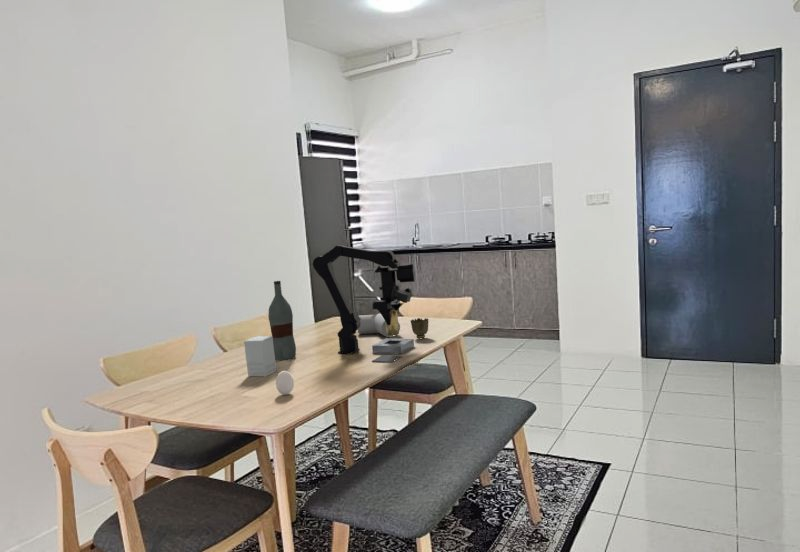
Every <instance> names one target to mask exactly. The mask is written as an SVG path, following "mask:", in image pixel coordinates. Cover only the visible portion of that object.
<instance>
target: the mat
mask: <svg viewBox="0 0 800 552" xmlns="http://www.w3.org/2000/svg"><path fill="white" fill-rule="evenodd" d="M400 357H401V358H403V357H402V355H389V354H386V355H385V354H382V355H380V356H378V357H376V358H375V359H372V360H371V363H384V362H393V361H394V360H396V359H398V358H399V359H401V358H400ZM399 359H398V360H399ZM396 361H397V360H396ZM394 362H395V361H394ZM394 362H393V363H394Z"/></svg>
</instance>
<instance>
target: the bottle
mask: <svg viewBox="0 0 800 552" xmlns="http://www.w3.org/2000/svg"><path fill="white" fill-rule="evenodd" d="M273 287H274V289H273V290H274V297H273V299H272V301H271V303H270V305H269V307H268V314H267V315H268V322H269V326H270V332H271V336H272V337H273V346H274V354H275V362H287V361H291V360H294V359H295V358H296V356H297V346H296V341H295V338H294V327H293V326H294V322H293V321H294V320H293V318H294V316H293V315H294V314H293V310H292V307H291V305H290V303H289V302H288V301H287V299H286V298H285V296H284V295H283V293H282V283H281V280H274V281H273Z"/></svg>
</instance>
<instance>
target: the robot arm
mask: <svg viewBox="0 0 800 552" xmlns="http://www.w3.org/2000/svg"><path fill="white" fill-rule="evenodd" d="M340 257H346V258H351V259H358V260H364V261H369V262H372V263H374V264H377V265H378V266H377V268H376V269H375V271H374V273H379V275H380V286H379V287H378V289H379V290H380V291H381V297H380V298H379V300H375V301H373V302H372V304H371V305H372V306H371V307H372V309H373V310H377V311H378V312H379V313H381V315H382V316H383V318H384V320H385V321H386V323H387V325H390V324H391V311H392V310H393V309H395V310H397V314H398V315H399V310H400V308H401V307H402V306H403V305H404V304H407V303H410V301H411V298H412V297H413V292H412V288H410V287H409V288H408V287H407V288H405V289H400V285H399V284H397V281H399V283H400V284H401V283H402V284H403V283H414V282H416V271H415V267H414V266H415V265H414V263H409V264H400V263H399V261H398V260H397V259H396V256H395V254H394V252H393V251H392V250H390V249H387V250H386V249H384V250H383V249H381V250H380V249H379V250H371V249H364V248H359V247H358V248H357V247H351V246H347V245H342V244H338V245H335V246H334V247H333V248H331V250H329V251H328V252H326V253H325V254H323V255H319V256H316V257H315V258H314V259H313V262H312V267H313V269H314V271H315V272H316V273H317V274H318V276H320V278H321V279H322V280H323V281H324V283H325V285H326V288H327V289H328V292H329V294H330V296H331V298H332V300H333V302H334V305H335V306H336V309H337V310H338V312H339V318H340V319H339V320H340V324H341V326H342V327H341V328H340V330H339V331H338V332H337V333H336V334H337V336H338V337H337V338H338V343H339V345H338V346H339V351H337V354H354V353H356V352H358V351H360V350H361V349H360V348H359V340H358V338H357V337H358V336H357V334H356V333H357V331H358V330H357V329H358V328H359V327H360V324H361V322H360V320H361V318H360V317H359V313H358V310H356V309H355V310H352V309H351V307H350V305H349V303H348V302H347V300H346V297H345V295H344V293H343V291H342V288H341V287H340V285H339V282H338V281H337V278H336V276H335V271H334V266H333V263H334V262H336V260H338V258H340ZM396 280H397V281H396ZM355 334H356V335H355Z"/></svg>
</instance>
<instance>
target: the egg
mask: <svg viewBox="0 0 800 552" xmlns="http://www.w3.org/2000/svg"><path fill="white" fill-rule="evenodd" d="M294 385H295V383H294V378H293V376H292V374H291V373H290V372H289V371H287V370H282V371H280V372H279V373H278V374H277V376H276V379H275V387H276V389H277V391H278V393H280V394H281V395H283V396H286V395H287V396H288V395H289V394H290V393H291V392H292V391H293V390H294Z"/></svg>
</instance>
